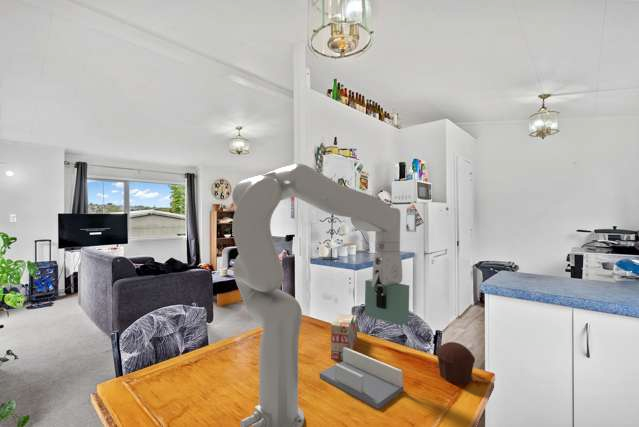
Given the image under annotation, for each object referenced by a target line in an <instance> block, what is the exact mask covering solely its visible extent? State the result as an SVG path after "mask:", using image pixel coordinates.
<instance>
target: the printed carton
mask: <svg viewBox="0 0 639 427" xmlns="http://www.w3.org/2000/svg"><path fill="white" fill-rule="evenodd" d="M357 320H358V315H355V314H342V313H341V314H340V313H337V316H336V317H335V319H334V320H333V321H332V323H331V328H330V329H331V331H330V332H331V333H330V341H331V346H330V347H331V348H330V349H331V351H330V358H331V360H338V361H339V360H340V361H343V348H344V347H346V348H349V349H351V350H353V349H354V347H355V344H356V342H357V339H358V321H357ZM353 351H354V350H353Z"/></svg>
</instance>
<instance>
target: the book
mask: <svg viewBox="0 0 639 427" xmlns="http://www.w3.org/2000/svg"><path fill="white" fill-rule="evenodd" d="M372 282H373V278H372V279H366V280H365V285H364V287H365V288H364V291H365V294H364V295H365V296H364V316H366V317H369V318H374V319H377V320H380V321H384V322H387V323H391V324H394V325H398V326H400V327H401V326H403V325H406V324H408V323H409V322H410V321H409V320H410V285H409V284H403V283H398V284H394V285H390V286H386V291H385V295H386V309H382V308H378V307H377V306H376V297H377V294H375V290H374V289H373V288H372V287H371V284H372ZM380 284H381V282H380ZM382 285H383V284H382ZM380 288H381V289H382V287H381V286H380Z"/></svg>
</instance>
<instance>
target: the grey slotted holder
mask: <svg viewBox="0 0 639 427" xmlns="http://www.w3.org/2000/svg"><path fill="white" fill-rule="evenodd" d="M403 372H404V371H403V369H400V368H397V367H396V366H393V365H390V364H388V363H385V362H382V361H381V360H378V359H375V358H373V357H370V356H367V355H365V354H364V353H361V352H358V351H356V350H351V349H349V348H346V347H344V348H343V360H342V361H341V362H338V363H335V364H334V365H332V366H331V367H328V368H326V369H324V370H323V371H320V372H318V373H319V374H318V375H319V378H320V379H321V380H323V381H325V382H327V383H328V384H331V385H333V386H334V387H336V388H338V389H340V390H342V391H344V392H345V393H347V394H349V395H351V396H353V397H355V398H356V399H358V400H360V401H362V402H364V403H366V404H367V405H369V406H371V407H373V408H375V409H377V410H379V409H381V408H382V407H383V406H385V405H386V404H388V403H389V402H390V401H392V400H393V399H394V398H395V397H397V396H398V395H400V394H401V393H402V392H404V389H405V388H404V385H403V381H404V380H403V376H404V375H403Z"/></svg>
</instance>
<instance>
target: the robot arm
mask: <svg viewBox="0 0 639 427" xmlns="http://www.w3.org/2000/svg"><path fill="white" fill-rule="evenodd" d="M288 198H289V199H290V198H297V199H299V200H301V201H303V202H305V203H308V204H309V205H311V206H313V207H315V208H317V209H319V210H321V211H322V212H325V213H327V214H330V215H334V216H338V217H339V216H340V217H345V218H350V222H351V225H352V226H353V227H354V228H355V229H356V230H358V231H363V232H374V233H375V235H374V236H375V237H374V238H375V239H374V242H375V243H374V255H373V262H372V274H371V276H372V279H373V282H372V284H371V287H372V288H373V289H374V290H375V294H377V297H376V306H377V307H378V308H382V309H386V295H385V291H386V286H390V285H394V284H398V283H399V284H402V282H403V263H402V254H401V210H400V209H399V208H396V207H391V206H390V205H389V204H388V203H386V202H384V201H383V200H381V199H379V198H377V197H375V196H374V195H371V194H368V193H365V192H362V191H359V190H356V189H353V188H351V187H347V186H344V185H342V184H340V183H338V182H336V181H335V180H332V179H331V178H330V177H329V176H326V175H324V174H322V173H321V172H319V171H318V170H315V169H314V168H312V167H311V166H308V165H306V164H304V163H295V164H291V165H288V166H284V167H280V168H277V169H276V170H273V171H270V172H267V173H264V174H261V175H257V176H254V177H250V178H248V179H247V178H246V179H244V180H241V181H239V182H238V183H237V184H236V185H235V187H234V188H233V190H232V202H233V204H234V206H235V211H234V214H233V218H232V221H231V222H232V223H231V225H232V226H231V229H232V236H233V240H234V243H235V246H236V249H237V253H238V255H237V256H236V258H235V259H234V261H233V266H232V271H233V277H234V280H235V283H236V286H237V288H238V290H239V294H240V296H241V300H242V301H243V304H244V306H245V309H246V311H247V313H248V315H249V316H250V317H251V318H252V319H253V320H254V321H255V322H257V323H259V325H261V328H262V333H261V335H260V336H261V337H260V341H259V347H258V405H256V406H254V412H252V413H251V415H250V416H247V417H245V418H243V419H241V420H240V422H239V424H240V427H303V426H304V424H305V413H304V411H303V409H302V408H300V407H299V338H300V331H301V325H302V319H303V312H302V308H301V305H300V303H299V301H298V300H297V299H296V298H295V297H294V296H292V295H291V294H290V293H287V292H286V291H283V290H282V289H281V290H280V289H279V288H280V287H281V285H282V284H283V281H284V274H285V272H284V268H283V265H282V261H281V259H280V256H279V254H278V253H279V252H278V250H277V247H276V243H275V242H274V239H273V234H272V231H271V220H272V217H273V215H274V212H275V210H276V208H278V206H279V204H280V202H281V201H283V200H286V199H288ZM380 282H381V284H380ZM382 284H383V285H382ZM380 286H381V287H382V289H381V288H380Z"/></svg>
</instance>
